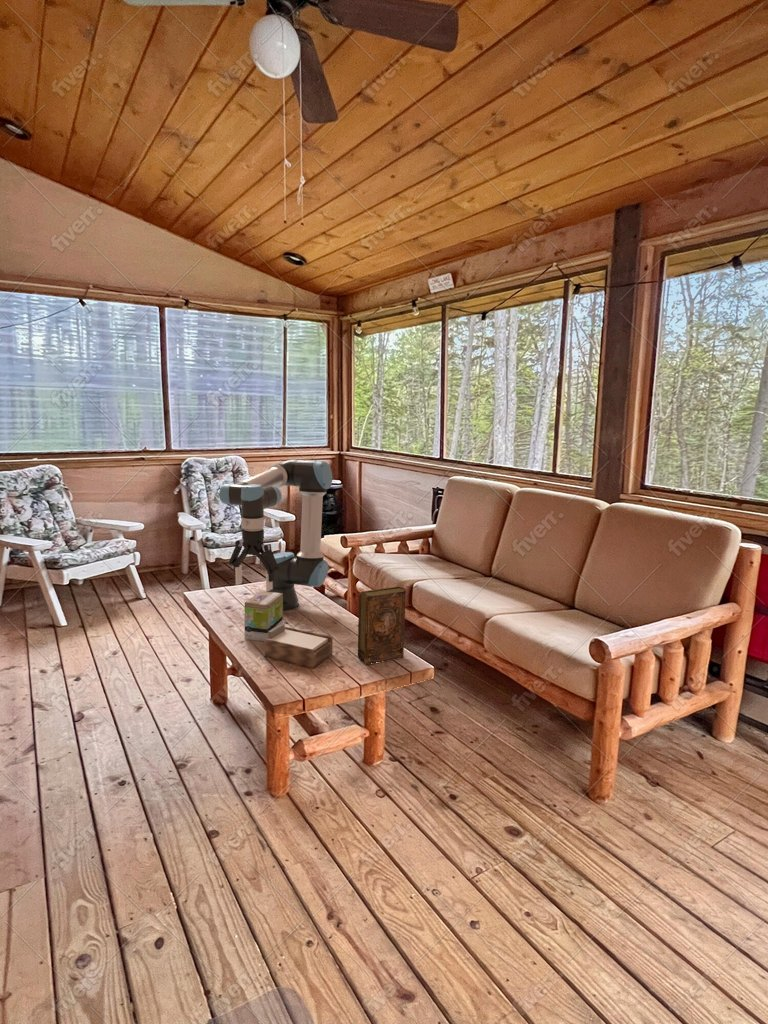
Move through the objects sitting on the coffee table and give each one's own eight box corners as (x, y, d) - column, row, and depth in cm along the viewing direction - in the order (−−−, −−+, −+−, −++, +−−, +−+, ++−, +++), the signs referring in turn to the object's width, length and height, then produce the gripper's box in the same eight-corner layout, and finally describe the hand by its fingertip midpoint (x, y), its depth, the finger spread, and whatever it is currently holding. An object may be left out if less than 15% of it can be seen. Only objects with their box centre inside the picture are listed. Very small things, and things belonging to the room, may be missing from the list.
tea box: (268, 642, 219) (268, 604, 216) (243, 639, 221) (243, 602, 218) (283, 627, 233) (283, 592, 231) (259, 625, 235) (259, 590, 233)
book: (398, 651, 214) (400, 586, 209) (405, 657, 209) (408, 590, 204) (357, 659, 206) (358, 591, 202) (364, 666, 201) (365, 596, 197)
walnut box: (264, 657, 206) (264, 639, 205) (285, 643, 218) (285, 626, 217) (313, 669, 198) (313, 650, 197) (332, 654, 210) (332, 636, 208)
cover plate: (265, 642, 206) (265, 632, 205) (284, 632, 216) (284, 622, 215) (310, 653, 198) (310, 642, 198) (327, 641, 208) (327, 631, 208)
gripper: (217, 526, 207) (219, 584, 211) (275, 535, 196) (276, 595, 200) (232, 522, 213) (233, 578, 218) (288, 531, 203) (288, 589, 207)
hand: (253, 587), depth 209 cm, fingers open, 13 cm apart
